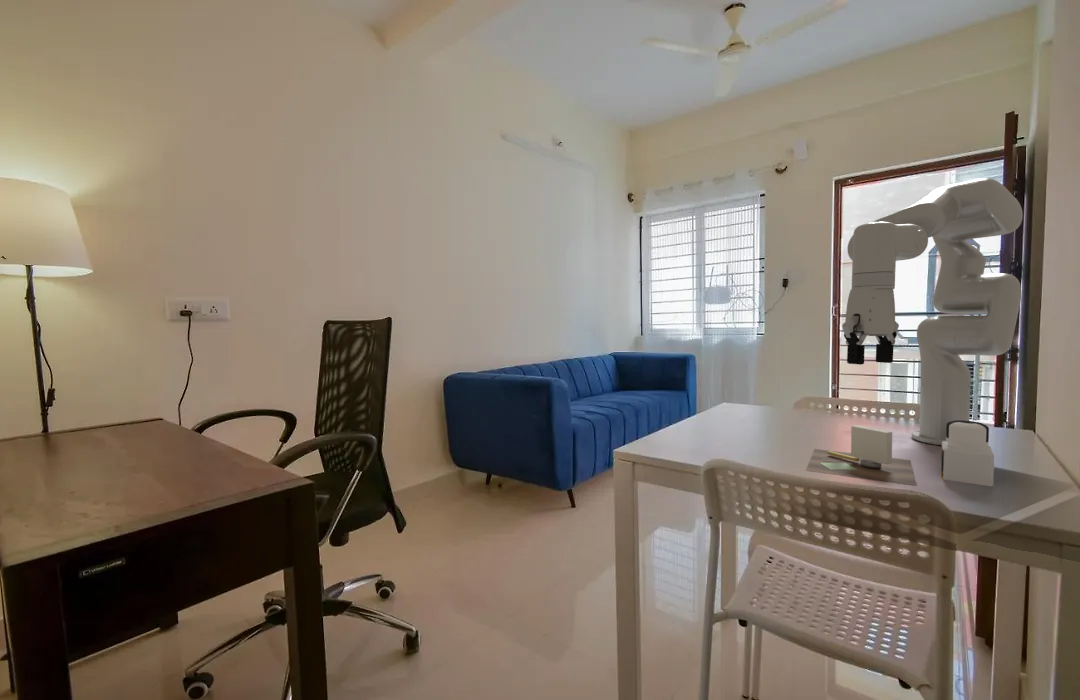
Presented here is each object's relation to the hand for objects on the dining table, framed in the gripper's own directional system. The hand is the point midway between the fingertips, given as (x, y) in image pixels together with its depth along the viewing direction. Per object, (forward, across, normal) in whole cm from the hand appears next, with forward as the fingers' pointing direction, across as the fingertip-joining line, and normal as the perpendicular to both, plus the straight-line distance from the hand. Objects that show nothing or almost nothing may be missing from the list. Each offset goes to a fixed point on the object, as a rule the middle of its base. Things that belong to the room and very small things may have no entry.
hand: (870, 363), depth 101 cm
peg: (+21, +2, 0) cm, 22 cm away
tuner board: (+23, +3, +1) cm, 23 cm away
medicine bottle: (+23, -6, +15) cm, 28 cm away
